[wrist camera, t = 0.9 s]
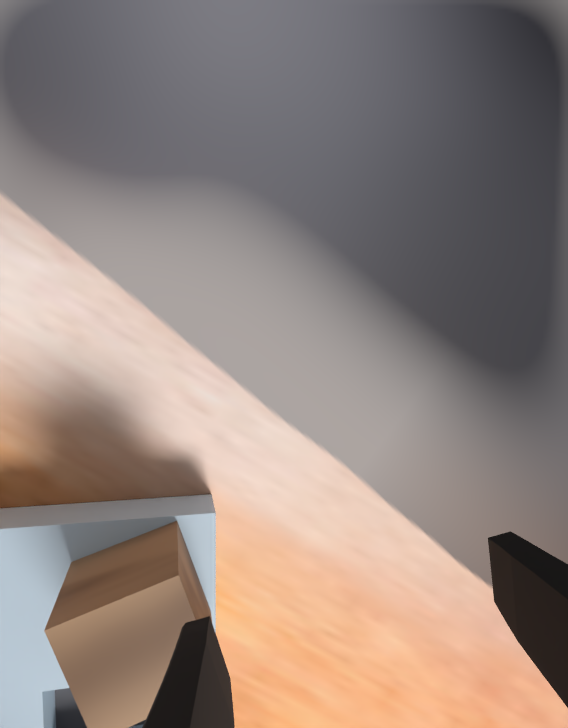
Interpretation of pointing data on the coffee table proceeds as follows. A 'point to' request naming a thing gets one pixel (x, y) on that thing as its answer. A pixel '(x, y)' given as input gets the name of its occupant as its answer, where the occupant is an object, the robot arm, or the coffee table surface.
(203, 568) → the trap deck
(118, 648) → the walnut cube
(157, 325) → the coffee table surface
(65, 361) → the coffee table surface
